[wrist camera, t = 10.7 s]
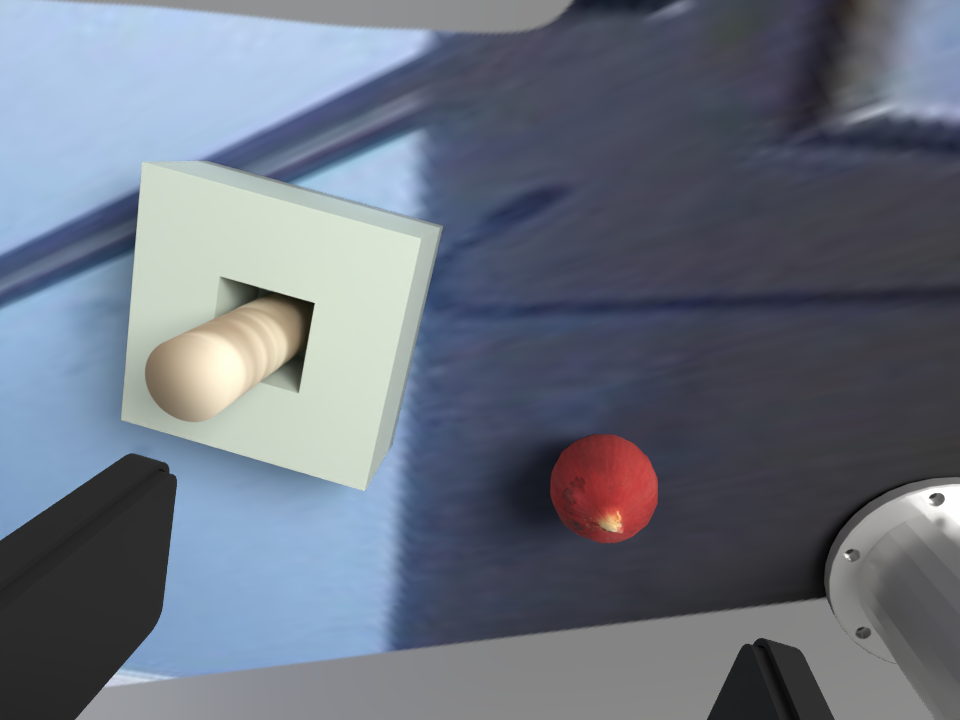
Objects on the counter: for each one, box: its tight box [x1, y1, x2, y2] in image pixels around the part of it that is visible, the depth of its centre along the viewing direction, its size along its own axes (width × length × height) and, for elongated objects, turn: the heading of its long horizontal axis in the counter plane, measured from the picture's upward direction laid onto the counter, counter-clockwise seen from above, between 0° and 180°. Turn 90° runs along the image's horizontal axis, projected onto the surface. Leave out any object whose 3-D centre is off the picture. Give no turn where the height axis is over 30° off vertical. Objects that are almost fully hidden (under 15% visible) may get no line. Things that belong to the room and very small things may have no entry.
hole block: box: [121, 161, 443, 491], centre depth 36 cm, size 14×14×6 cm
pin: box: [145, 291, 315, 422], centre depth 33 cm, size 4×4×12 cm
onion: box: [550, 434, 658, 543], centre depth 36 cm, size 6×6×8 cm
